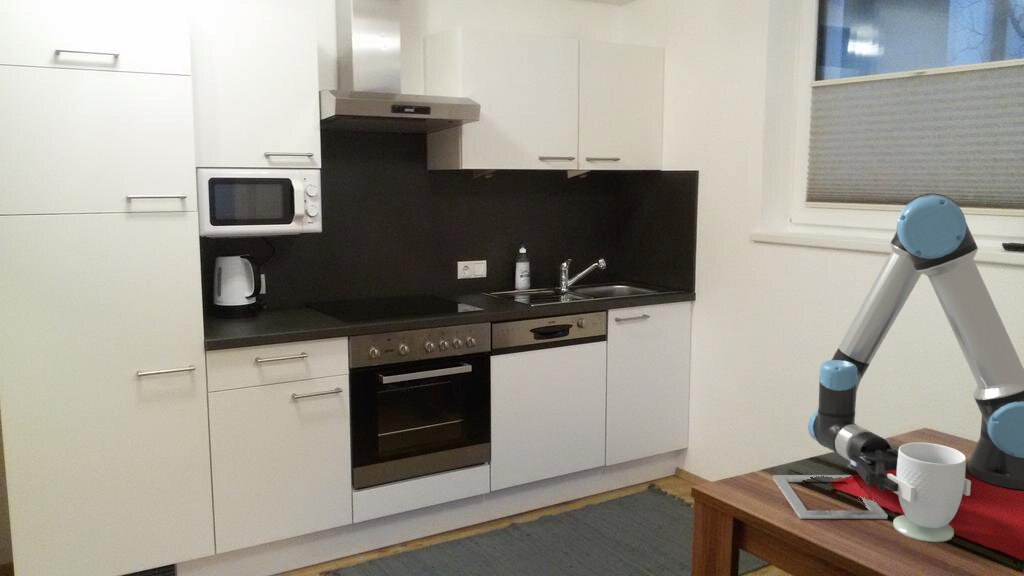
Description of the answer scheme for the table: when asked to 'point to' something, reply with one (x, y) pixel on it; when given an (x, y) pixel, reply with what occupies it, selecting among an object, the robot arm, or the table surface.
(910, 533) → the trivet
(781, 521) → the table surface
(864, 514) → the grey rectangular frame
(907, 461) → the mug
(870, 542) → the table surface
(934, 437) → the table surface
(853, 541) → the table surface
